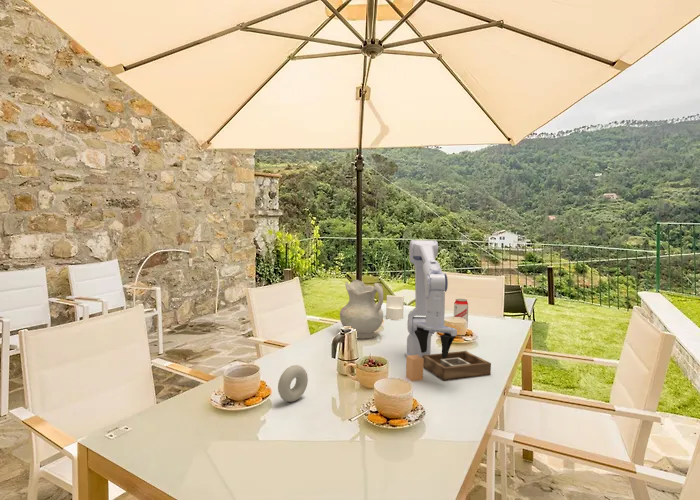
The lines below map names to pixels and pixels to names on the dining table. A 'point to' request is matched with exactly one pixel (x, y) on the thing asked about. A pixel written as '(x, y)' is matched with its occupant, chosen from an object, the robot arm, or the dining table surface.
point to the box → (456, 365)
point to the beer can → (461, 309)
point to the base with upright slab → (394, 307)
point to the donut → (286, 381)
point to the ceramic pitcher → (363, 309)
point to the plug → (414, 367)
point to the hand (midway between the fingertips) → (434, 354)
